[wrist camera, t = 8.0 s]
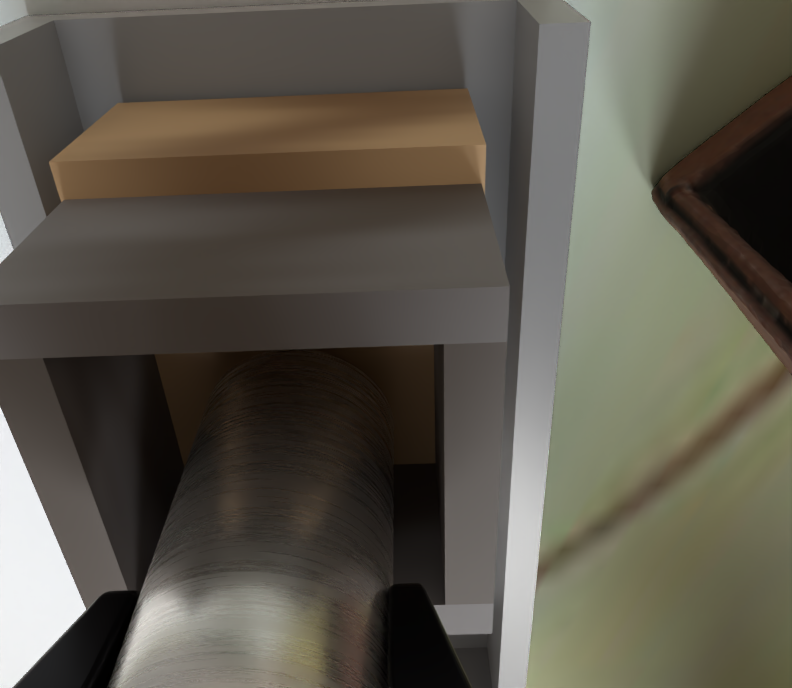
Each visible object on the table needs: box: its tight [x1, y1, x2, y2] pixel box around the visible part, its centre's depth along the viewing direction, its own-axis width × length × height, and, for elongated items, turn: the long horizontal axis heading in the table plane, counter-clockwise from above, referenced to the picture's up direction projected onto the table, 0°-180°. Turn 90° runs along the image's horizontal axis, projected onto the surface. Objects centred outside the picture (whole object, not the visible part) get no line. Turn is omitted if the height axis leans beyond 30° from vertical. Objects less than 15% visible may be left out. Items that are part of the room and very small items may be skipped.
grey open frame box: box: [0, 88, 510, 635], centre depth 12 cm, size 6×7×6 cm
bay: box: [0, 0, 591, 688], centre depth 16 cm, size 9×18×3 cm, turn 2°
